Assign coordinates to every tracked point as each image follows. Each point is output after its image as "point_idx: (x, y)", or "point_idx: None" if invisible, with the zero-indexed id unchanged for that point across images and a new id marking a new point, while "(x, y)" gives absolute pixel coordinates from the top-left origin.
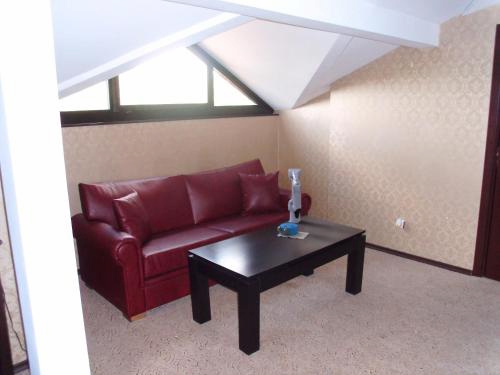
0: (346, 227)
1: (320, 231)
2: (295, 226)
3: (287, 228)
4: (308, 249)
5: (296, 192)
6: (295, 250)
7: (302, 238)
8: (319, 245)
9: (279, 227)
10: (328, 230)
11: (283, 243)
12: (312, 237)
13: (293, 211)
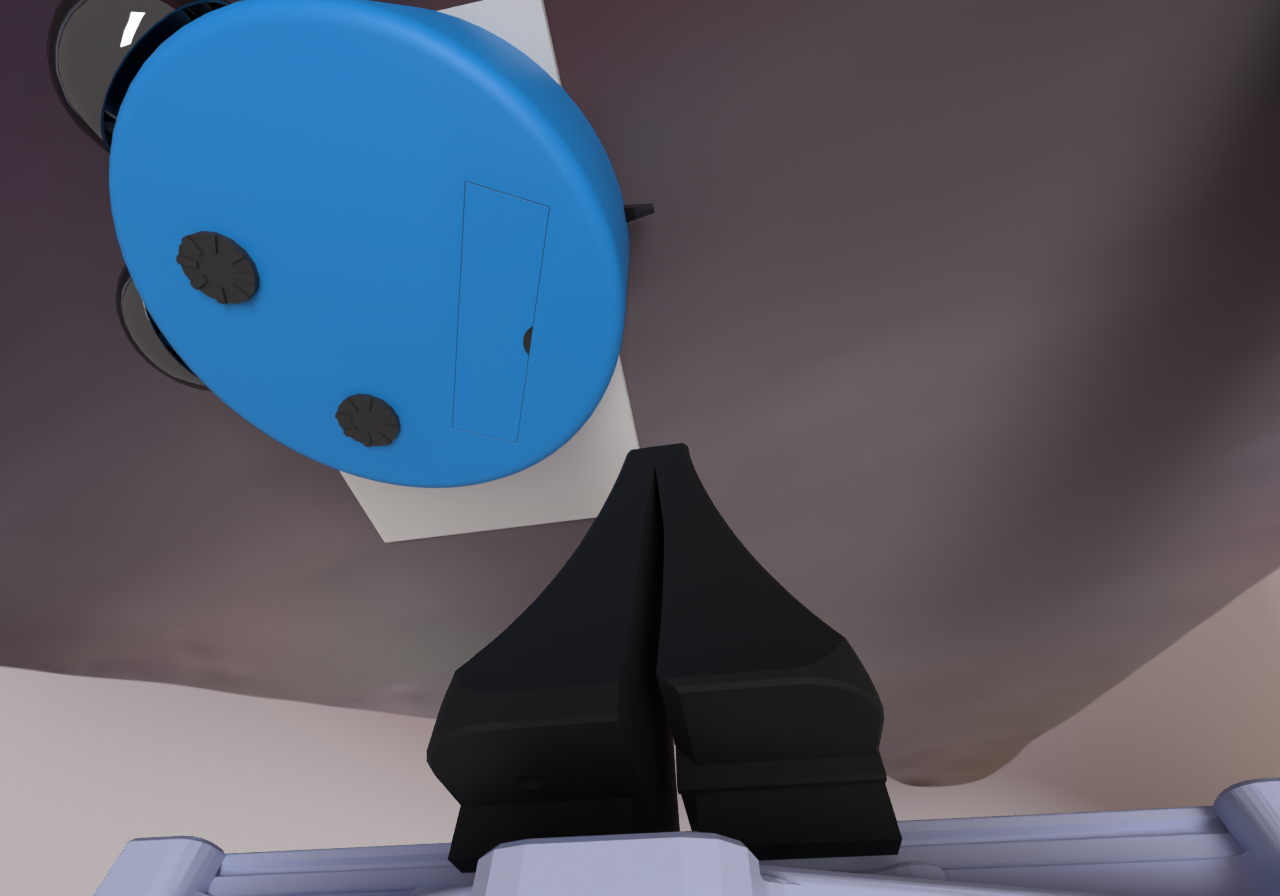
0: (1061, 702)
1: (813, 573)
2: (421, 467)
3: (197, 368)
4: (191, 664)
5: None
6: (35, 600)
7: (386, 529)
8: (367, 690)
9: (66, 101)
10: (890, 621)
11: (8, 406)
12: (532, 582)
13: (491, 647)
